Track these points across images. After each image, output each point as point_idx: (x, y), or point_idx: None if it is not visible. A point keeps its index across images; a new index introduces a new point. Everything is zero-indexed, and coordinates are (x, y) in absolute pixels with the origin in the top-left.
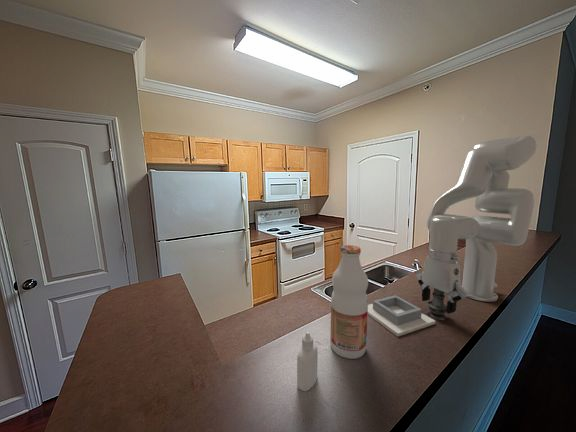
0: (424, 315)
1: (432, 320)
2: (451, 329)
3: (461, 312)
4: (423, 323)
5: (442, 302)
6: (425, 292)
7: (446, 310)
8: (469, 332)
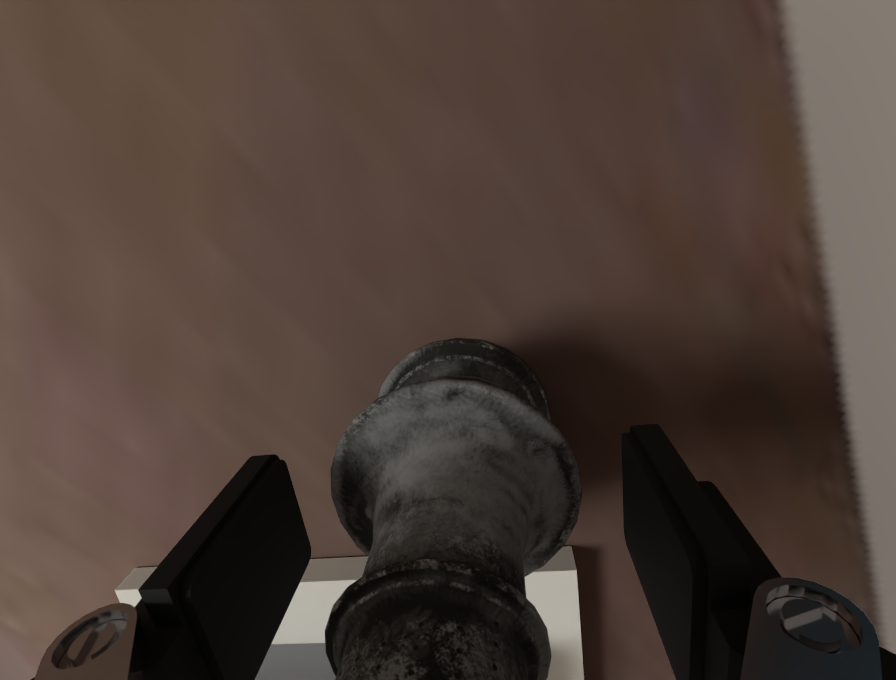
0: None
1: (561, 587)
2: None
3: (493, 51)
4: (568, 677)
5: (520, 551)
6: (248, 660)
7: (632, 559)
8: (809, 381)
